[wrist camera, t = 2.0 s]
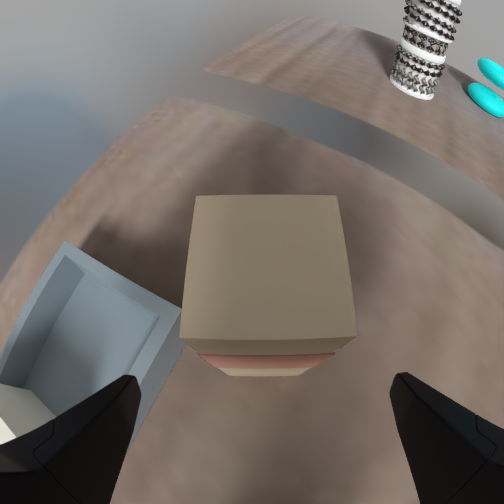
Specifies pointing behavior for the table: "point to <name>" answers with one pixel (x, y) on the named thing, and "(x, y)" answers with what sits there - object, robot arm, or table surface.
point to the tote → (90, 335)
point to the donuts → (485, 94)
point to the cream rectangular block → (20, 412)
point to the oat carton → (267, 283)
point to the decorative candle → (424, 46)
